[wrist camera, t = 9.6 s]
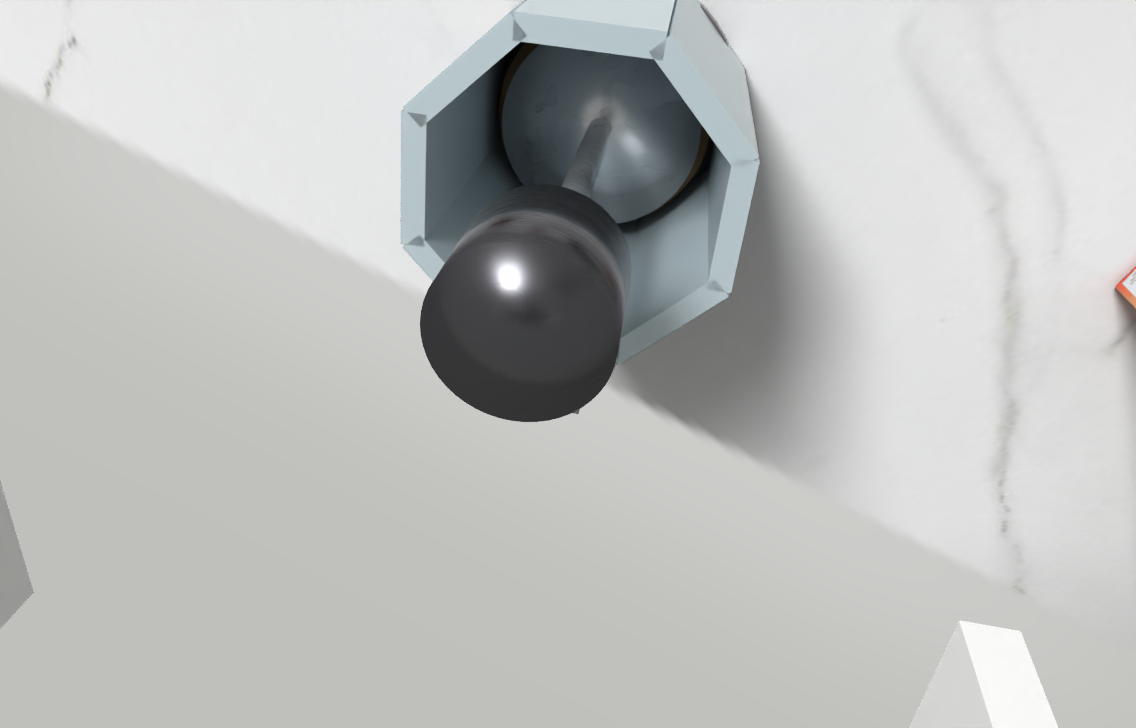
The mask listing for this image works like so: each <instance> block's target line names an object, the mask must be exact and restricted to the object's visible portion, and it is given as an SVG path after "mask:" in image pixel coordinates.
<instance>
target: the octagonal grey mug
mask: <svg viewBox="0 0 1136 728" xmlns="http://www.w3.org/2000/svg"><path fill="white" fill-rule="evenodd" d="M539 44H543V45H550V46H558V47H565V48H573V49H580V50H588V51H595V52H603V53H610V54H617V55H625V56H632V57H640V58H647V59H654V60H655V61H656V63H657V64H658V65H659V67H660V68H661V69H662V71H663V72H664V74H665V75H666V76H667V78H668V79H669V80H670V82H671V83H672V85H673V86H674V87H675V89H676V90H677V92H678V93H679V94H680V96H681V97H682V98H683V100H684V101H685V103H686V104H687V105H688V107H689V108H690V109H691V111H692V112H693V114H694V115H695V116H696V118H697V119H698V121H699V122H700V123H701V136H700V144H699V148H698V152H697V156H696V159H695V162H694V164H693V167H692V169H691V171H690V173H689V175H688V176H687V178H686V180H685V181H684V183H683V184H682V185H681V187H680V188H679V189H678V191H677V192H676V193H675V194H674V195H673V196H672V197H671V198H670V199H669V200H668V201H666V202H665V203H664V204H663V205H661V206H660V207H659V208H657V209H656V210H654V211H652V212H651V213H649V214H647V215H645V216H642V217H640V218H638V219H635V220H631V221H628V222H624V223H618V224H617V225H618V226H619V228H620V229H621V231H622V233H623V235H624V237H625V239H626V242H627V245H628V247H629V251H630V256H631V264H632V274H631V283H630V289H629V294H628V300H627V305H626V310H625V316H624V321H623V327H622V332H621V338H620V343H619V349H618V354H617V358H616V363H615V364H617V363H618V361H619V362H620V363H621V364H622V363H623V362H625V361H626V360H628V359H630V358H631V357H633V356H634V355H636V354H638V353H639V352H641V351H643V350H644V349H646V348H647V347H649V346H651V345H652V344H654V343H655V342H657V341H659V340H660V339H662V338H663V337H665V336H667V335H668V334H670V333H671V332H673V331H675V330H676V329H678V328H679V327H681V326H683V325H684V324H686V323H688V322H689V321H691V320H692V319H694V318H696V317H697V316H699V315H700V314H702V313H704V312H705V311H707V310H708V309H710V308H712V307H713V306H715V305H716V304H718V303H720V302H721V301H723V300H724V299H726V298H728V297H729V295H728V293H731V292H732V287H733V282H734V278H735V273H736V269H737V264H738V260H739V255H740V250H741V246H742V241H743V237H744V232H745V227H746V223H747V218H748V214H749V209H750V205H751V200H752V195H753V191H754V186H755V182H756V177H757V172H758V168H759V163H760V159H759V153H758V147H757V141H756V135H755V129H754V123H753V117H752V111H751V105H750V98H749V92H748V86H747V80H746V74H745V69H744V65H743V64H742V63H741V61H740V60H739V58H738V57H737V55H736V54H735V52H734V51H733V49H732V48H731V46H730V45H729V44H728V42H727V39H726V37H725V35H724V34H723V32H722V30H721V28H720V27H719V25H718V23H717V22H716V20H715V19H714V18H713V17H712V15H711V14H710V13H709V11H708V10H707V9H706V8H705V7H704V6H703V5H702V4H701V3H700V1H699V0H525V1H523V2H522V3H521V4H520V5H518V6H517V7H516V8H515V9H513V10H512V11H511V12H510V13H508V14H507V15H506V16H505V17H504V18H503V19H502V20H501V21H499V22H498V23H497V24H496V25H495V26H494V27H493V28H492V29H490V30H489V31H488V32H487V33H486V34H485V35H484V36H483V37H481V38H480V39H479V40H478V41H477V42H476V43H475V44H474V45H472V46H471V47H470V48H469V49H468V50H467V51H466V52H464V53H463V54H462V55H461V56H460V57H459V58H458V59H457V60H455V61H454V62H453V63H452V64H451V65H450V66H449V67H448V68H446V69H445V70H444V71H443V72H442V73H441V74H440V75H439V76H437V77H436V78H435V79H434V80H433V81H432V82H431V83H430V84H428V85H427V86H426V87H425V88H424V89H423V90H422V91H421V92H419V93H418V94H417V95H416V96H415V97H414V98H413V99H412V100H410V101H409V102H408V103H407V104H406V105H405V106H404V107H403V108H404V109H403V110H402V111H401V244H405V245H404V246H403V249H404V250H405V251H406V252H407V253H408V254H409V255H410V256H411V258H412V259H413V260H414V261H415V262H416V263H417V264H418V265H419V266H420V267H421V269H422V270H423V271H424V272H425V273H426V274H427V275H428V276H429V277H430V279H431V280H432V281H434V279H435V278H436V276H437V275H438V273H439V271H440V270H441V268H442V267H443V265H444V264H445V262H446V261H447V259H448V258H449V256H450V254H451V253H452V251H453V250H454V248H455V247H456V245H457V244H458V242H459V240H460V239H461V237H462V236H463V234H464V233H465V231H466V230H467V228H468V227H469V225H470V223H471V222H472V220H473V219H474V217H475V216H476V215H477V213H478V212H479V211H480V210H481V209H482V208H483V207H484V206H485V205H486V204H487V203H488V202H489V201H491V200H492V199H494V198H495V197H497V196H498V195H500V194H502V193H504V192H506V191H508V190H511V189H514V188H517V187H521V186H524V185H523V184H522V182H521V181H520V180H519V178H518V177H517V175H516V173H515V171H514V170H513V168H512V166H511V163H510V161H509V158H508V156H507V152H506V149H505V145H504V140H503V132H502V114H503V106H504V101H505V97H506V93H507V90H508V88H509V85H510V83H511V80H512V78H513V76H514V75H515V73H516V71H517V70H518V68H519V66H520V65H521V64H522V63H523V61H524V60H525V59H526V57H527V56H528V55H529V54H530V53H531V52H532V51H533V50H534V49H535V48H536V47H537V46H538V45H539ZM572 413H576V414H578V413H579V409H578V410H576V411H574V412H572Z"/></svg>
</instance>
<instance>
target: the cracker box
mask: <svg viewBox="0 0 1136 728" xmlns="http://www.w3.org/2000/svg"><path fill="white" fill-rule="evenodd" d="M1116 289H1117V290H1118V292H1119V293H1120V294H1121V295H1122V296H1123V297H1124V298H1125V299H1126V300H1127V301H1128V302H1129V303H1130V304H1131V305H1132V306H1133V307H1134V308H1135V309H1136V267H1135V268H1133V269H1132V271H1131V272H1130V273H1129V274H1128V275H1127V276H1125V277H1124V278H1123V279H1122V280H1121V281H1120V282H1119V283H1118V284H1117V285H1116Z"/></svg>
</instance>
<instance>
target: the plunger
mask: <svg viewBox="0 0 1136 728" xmlns="http://www.w3.org/2000/svg"><path fill="white" fill-rule="evenodd" d="M502 132H503V140H504V145H505V149H506V152H507V156H508V158H509V161H510V163H511V166H512V168H513V170H514V171H515V173H516V175H517V177H518V178H519V180H520V181H521V182H522V184H523V185H524V186H521V187H517V188H514V189H511V190H508V191H506V192H504V193H502V194H500V195H498V196H497V197H495V198H494V199H492V200H491V201H489V202H488V203H487V204H486V205H485V206H484V207H483V208H482V209H481V210H480V211H479V212H478V213H477V215H476V216H475V217H474V219H473V220H472V222H471V223H470V225H469V227H468V228H467V230H466V231H465V233H464V234H463V236H462V237H461V239H460V240H459V242H458V244H457V245H456V247H455V248H454V250H453V251H452V253H451V254H450V256H449V258H448V259H447V261H446V262H445V264H444V265H443V267H442V268H441V270H440V271H439V273H438V275H437V276H436V278H435V279H434V281H433V282H432V284H431V286H430V287H429V289H428V291H427V294H426V296H425V299H424V302H423V306H422V310H421V318H420V329H421V338H422V343H423V347H424V350H425V353H426V355H427V358H428V360H429V362H430V364H431V366H432V368H433V369H434V371H435V372H436V374H437V375H438V377H439V378H440V379H441V380H442V382H443V383H444V384H445V385H446V386H447V387H448V388H449V389H450V390H451V391H452V392H453V393H454V394H455V395H456V396H458V397H459V398H460V399H462V400H463V401H464V402H466V403H467V404H469V405H471V406H473V407H474V408H476V409H478V410H480V411H482V412H484V413H487V414H490V415H492V416H496V417H498V418H502V419H507V420H512V421H521V422H538V421H546V420H551V419H556V418H559V417H562V416H565V415H568V414H570V413H572V412H574V411H576V410H578V409H580V408H581V407H583V406H584V405H585V404H587V403H588V402H590V401H591V400H592V399H593V398H594V397H595V396H596V395H598V393H599V392H600V391H601V390H602V388H603V387H604V386H605V385H606V383H607V381H608V379H609V378H610V376H611V374H612V371H613V369H614V366H615V363H616V358H617V354H618V349H619V343H620V338H621V332H622V327H623V321H624V316H625V310H626V305H627V300H628V294H629V289H630V283H631V274H632V264H631V256H630V251H629V247H628V245H627V242H626V239H625V237H624V235H623V233H622V231H621V229H620V228H619V226H618V225H617V224H618V223H624V222H628V221H631V220H635V219H638V218H640V217H642V216H645V215H647V214H649V213H651V212H652V211H654V210H656V209H657V208H659V207H660V206H661V205H663V204H664V203H665V202H666V201H668V200H669V199H670V198H671V197H672V196H673V195H674V194H675V193H676V192H677V191H678V189H679V188H680V187H681V185H682V184H683V183H684V181H685V180H686V178H687V176H688V175H689V173H690V171H691V169H692V167H693V164H694V162H695V159H696V156H697V152H698V148H699V144H700V136H701V123H700V122H699V121H698V119H697V118H696V116H695V115H694V114H693V112H692V111H691V109H690V108H689V107H688V105H687V104H686V103H685V101H684V100H683V98H682V97H681V96H680V94H679V93H678V92H677V90H676V89H675V87H674V86H673V85H672V83H671V82H670V80H669V79H668V78H667V76H666V75H665V74H664V72H663V71H662V69H661V68H660V67H659V65H658V64H657V63H656V61H655V60H654V59H647V58H640V57H632V56H625V55H617V54H610V53H603V52H595V51H588V50H580V49H573V48H565V47H558V46H550V45H543V44H539V45H538V46H537V47H536V48H535V49H534V50H533V51H532V52H531V53H530V54H529V55H528V56H527V57H526V59H525V60H524V61H523V63H522V64H521V65H520V66H519V68H518V70H517V71H516V73H515V75H514V76H513V78H512V80H511V83H510V85H509V88H508V90H507V93H506V97H505V101H504V106H503V114H502Z"/></svg>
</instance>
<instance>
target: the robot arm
mask: <svg viewBox="0 0 1136 728" xmlns="http://www.w3.org/2000/svg"><path fill="white" fill-rule="evenodd" d="M32 594H33V588H32V585H31V582H30V579H29V576H28V572H27V568H26V565H25V562H24V558H23V555H22V552H21V549H20V545H19V542H18V539H17V535H16V532H15V529H14V525H13V522H12V519H11V516H10V512H9V509H8V505H7V502H6V499H5V495H4V492H3V489H2V485H1V482H0V628H1V627H2V626H3V625H4V624H5V623H6V622H7V621H8V620H9V619H10V618H11V616H12V615H13V614H14V613H15V612H16V611H17V610H18V609H19V608H20V607H21V606H22V604H23V603H24V602H25V601H26V600H27V599H28V598H29V597H30V596H31V595H32ZM909 728H1058V726H1057V723H1056V721H1055V718H1054V716H1053V713H1052V711H1051V708H1050V705H1049V703H1048V700H1047V698H1046V695H1045V693H1044V690H1043V687H1042V685H1041V683H1040V680H1039V677H1038V675H1037V672H1036V669H1035V667H1034V664H1033V662H1032V659H1031V657H1030V654H1029V652H1028V649H1027V646H1026V644H1025V641H1024V639H1023V636H1022V634H1021V631H1016V630H1010V629H1005V628H999V627H993V626H988V625H982V624H976V623H971V622H965V621H959V622H958V624H957V626H956V628H955V630H954V632H953V634H952V637H951V639H950V641H949V643H948V645H947V647H946V649H945V651H944V654H943V656H942V658H941V660H940V662H939V664H938V666H937V668H936V671H935V673H934V675H933V677H932V679H931V681H930V683H929V686H928V688H927V690H926V692H925V694H924V696H923V698H922V700H921V702H920V704H919V707H918V709H917V711H916V713H915V715H914V717H913V720H912V721H911V724H910V726H909Z"/></svg>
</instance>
